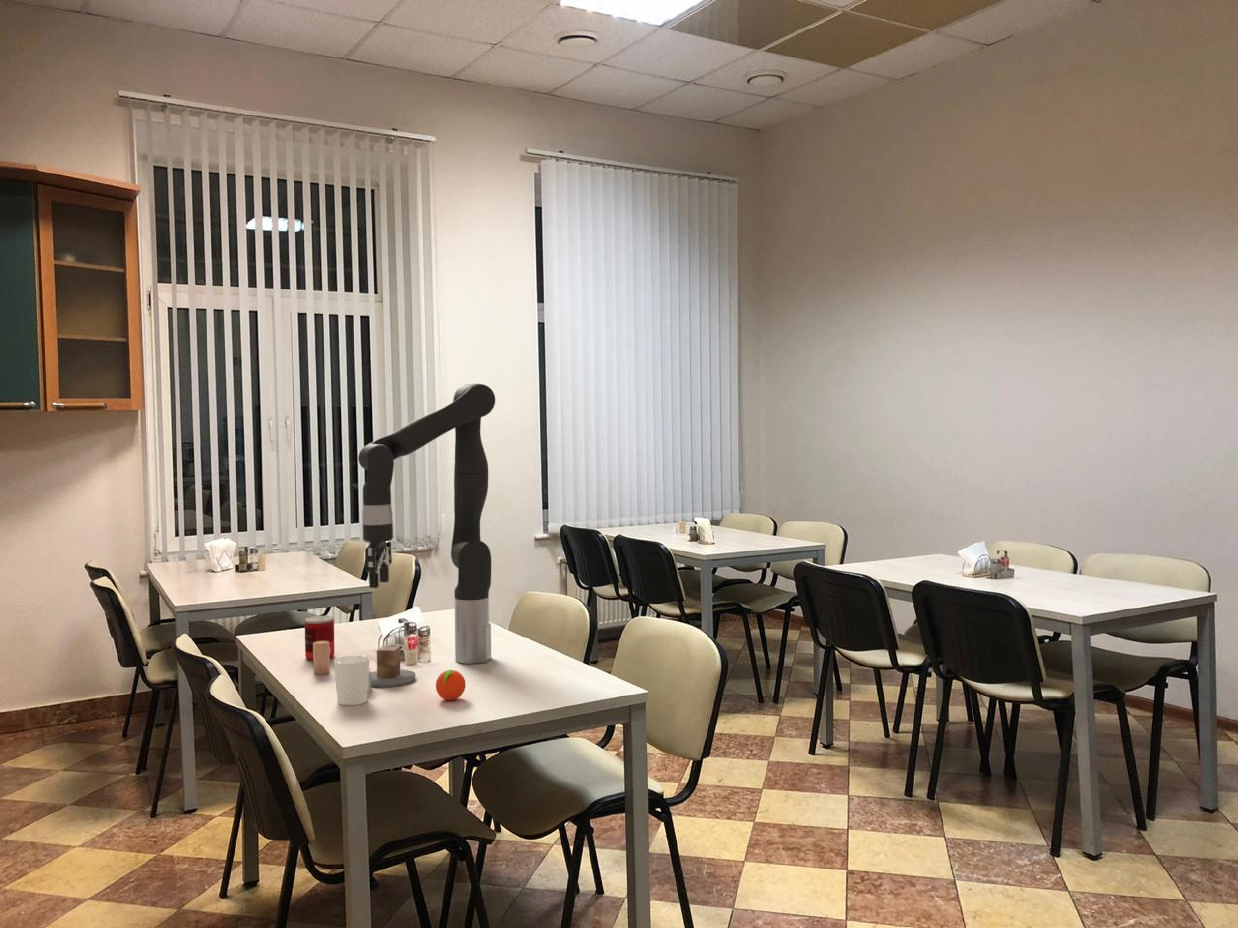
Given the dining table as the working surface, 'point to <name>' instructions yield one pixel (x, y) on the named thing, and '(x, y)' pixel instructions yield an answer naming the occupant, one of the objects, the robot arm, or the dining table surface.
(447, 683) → the clementine
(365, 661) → the white cup
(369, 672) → the sage cube
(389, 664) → the walnut block
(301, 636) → the dining table surface
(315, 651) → the cylinder
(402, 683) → the slate coaster
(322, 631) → the canned food
